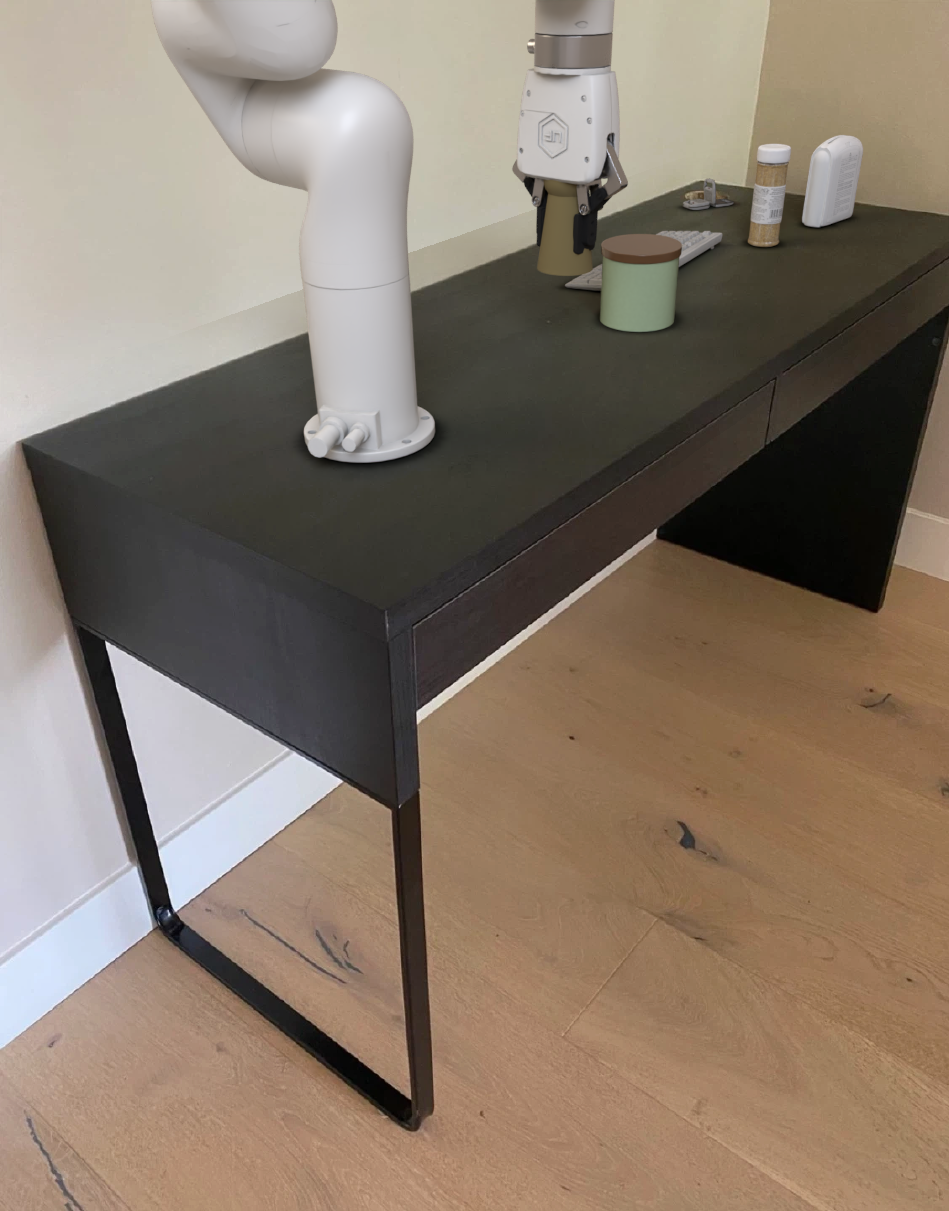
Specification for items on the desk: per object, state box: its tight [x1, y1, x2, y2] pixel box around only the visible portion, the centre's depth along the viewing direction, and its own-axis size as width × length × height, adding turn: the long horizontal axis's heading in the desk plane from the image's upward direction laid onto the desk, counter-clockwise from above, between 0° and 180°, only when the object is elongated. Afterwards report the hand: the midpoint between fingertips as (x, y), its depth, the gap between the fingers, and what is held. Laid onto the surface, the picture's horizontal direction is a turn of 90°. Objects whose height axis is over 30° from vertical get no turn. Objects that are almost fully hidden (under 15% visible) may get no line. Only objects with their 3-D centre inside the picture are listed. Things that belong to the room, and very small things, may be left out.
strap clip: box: [682, 178, 735, 211], centre depth 172 cm, size 8×3×4 cm, turn 113°
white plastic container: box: [801, 134, 864, 228], centre depth 159 cm, size 10×4×12 cm, turn 134°
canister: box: [599, 233, 682, 333], centre depth 124 cm, size 9×9×9 cm
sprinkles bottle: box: [747, 143, 792, 248], centre depth 149 cm, size 5×5×14 cm
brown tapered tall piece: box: [536, 179, 594, 277], centre depth 109 cm, size 6×6×11 cm
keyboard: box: [564, 230, 723, 292], centre depth 145 cm, size 29×10×2 cm, turn 147°
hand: (565, 245), depth 111 cm, fingers closed on brown tapered tall piece, 4 cm apart
